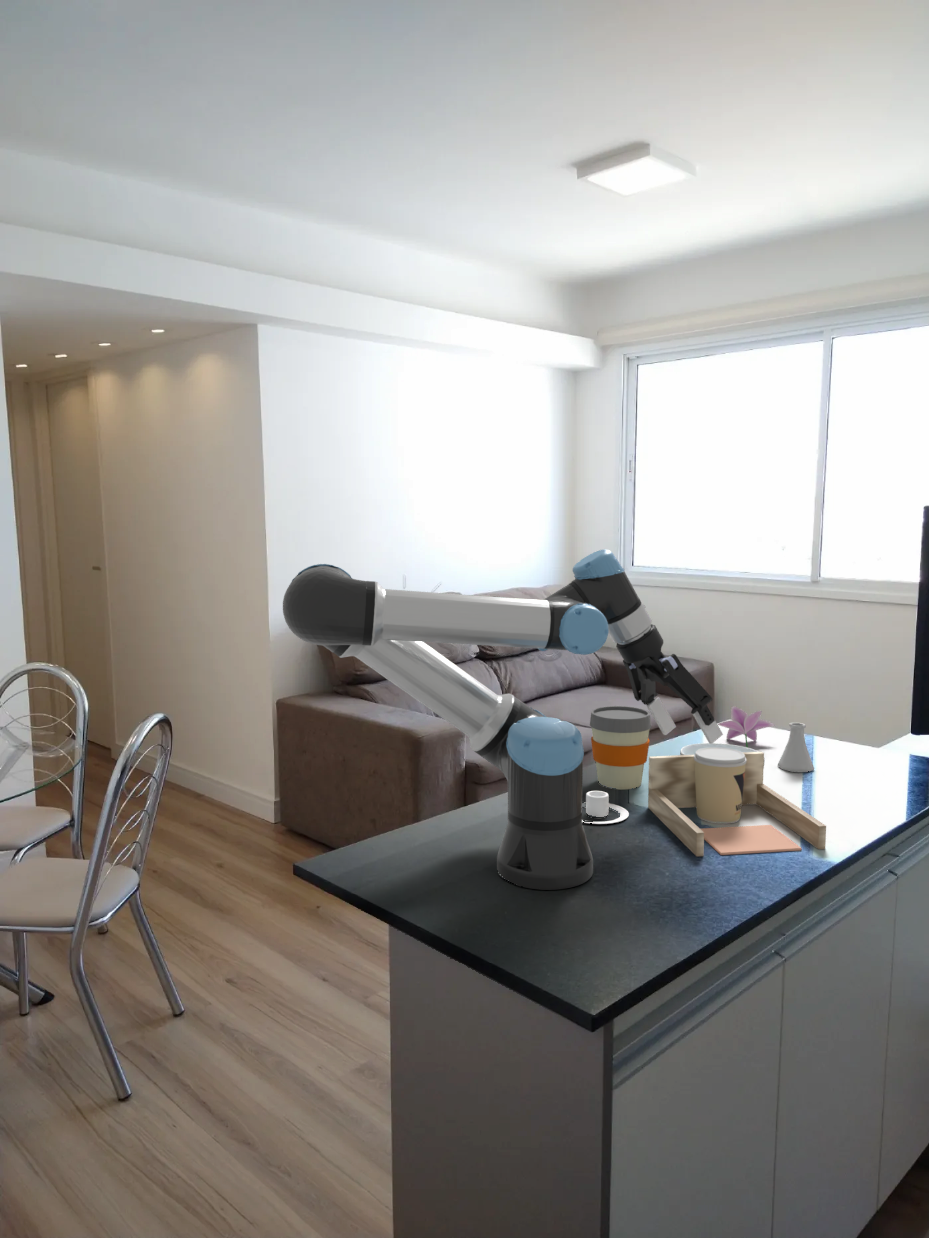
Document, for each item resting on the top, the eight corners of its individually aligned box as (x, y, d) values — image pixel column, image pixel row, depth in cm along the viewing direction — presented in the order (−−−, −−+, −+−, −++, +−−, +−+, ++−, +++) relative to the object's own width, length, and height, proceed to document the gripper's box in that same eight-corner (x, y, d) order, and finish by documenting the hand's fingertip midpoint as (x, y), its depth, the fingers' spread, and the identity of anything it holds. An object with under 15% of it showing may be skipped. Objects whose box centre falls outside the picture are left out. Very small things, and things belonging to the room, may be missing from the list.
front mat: (721, 854, 143) (721, 852, 143) (695, 831, 154) (695, 828, 154) (801, 850, 145) (801, 847, 145) (770, 826, 156) (770, 824, 156)
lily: (781, 750, 210) (775, 711, 213) (763, 740, 201) (757, 700, 205) (733, 758, 216) (728, 720, 220) (713, 749, 208) (709, 710, 212)
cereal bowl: (769, 801, 170) (771, 765, 169) (682, 796, 173) (682, 762, 172) (756, 775, 187) (757, 743, 186) (677, 772, 189) (677, 740, 189)
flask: (771, 765, 193) (772, 721, 192) (798, 762, 196) (800, 719, 194) (792, 775, 187) (794, 729, 185) (820, 771, 189) (822, 726, 187)
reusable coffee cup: (660, 789, 177) (661, 717, 176) (601, 794, 175) (602, 721, 173) (636, 771, 190) (637, 704, 188) (581, 775, 187) (581, 707, 185)
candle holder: (575, 830, 156) (575, 806, 156) (555, 808, 168) (556, 786, 168) (638, 824, 159) (639, 801, 158) (614, 803, 170) (615, 782, 170)
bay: (696, 856, 143) (697, 797, 142) (648, 807, 167) (648, 756, 166) (825, 848, 146) (827, 790, 144) (759, 801, 169) (761, 751, 168)
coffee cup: (747, 827, 156) (749, 761, 155) (693, 823, 158) (695, 759, 156) (741, 809, 165) (743, 747, 164) (691, 806, 167) (692, 745, 166)
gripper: (692, 620, 139) (753, 729, 143) (612, 622, 162) (666, 716, 166) (659, 646, 137) (722, 756, 140) (583, 645, 160) (638, 739, 164)
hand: (692, 734), depth 153 cm, fingers open, 13 cm apart
